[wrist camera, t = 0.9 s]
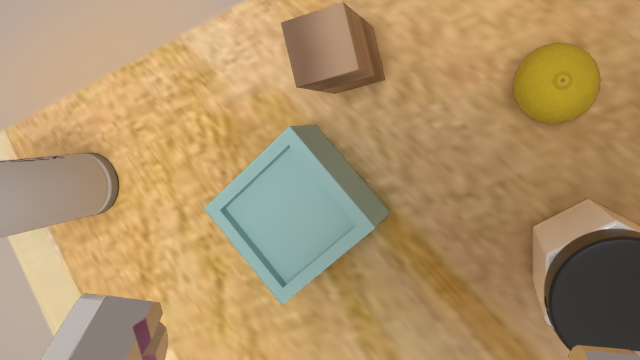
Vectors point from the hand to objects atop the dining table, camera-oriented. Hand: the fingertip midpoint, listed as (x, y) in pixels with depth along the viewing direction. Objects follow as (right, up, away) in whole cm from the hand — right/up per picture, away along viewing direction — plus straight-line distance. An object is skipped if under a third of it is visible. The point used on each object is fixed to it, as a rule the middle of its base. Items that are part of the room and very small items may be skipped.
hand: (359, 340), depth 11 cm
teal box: (-1, +1, +37) cm, 37 cm away
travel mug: (-24, +3, +44) cm, 50 cm away
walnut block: (+2, +13, +35) cm, 37 cm away
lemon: (+17, +10, +31) cm, 36 cm away
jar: (+20, -3, +31) cm, 37 cm away
